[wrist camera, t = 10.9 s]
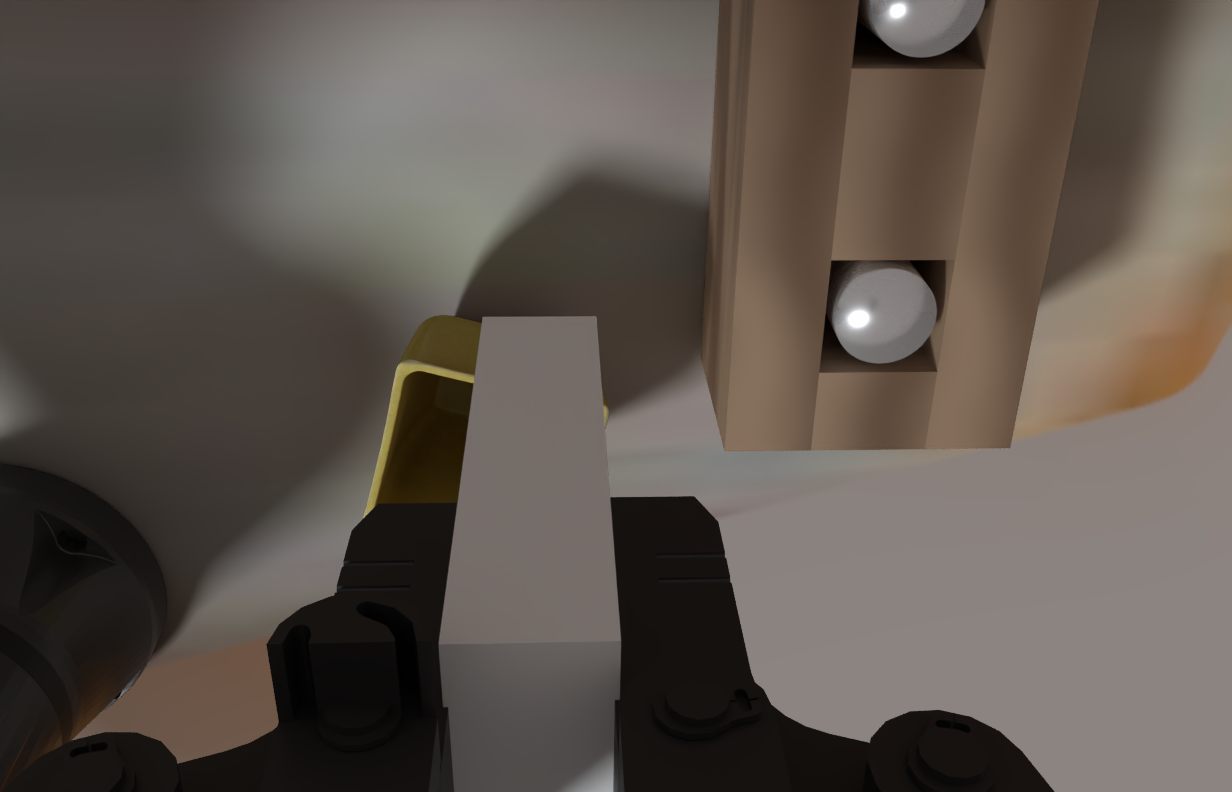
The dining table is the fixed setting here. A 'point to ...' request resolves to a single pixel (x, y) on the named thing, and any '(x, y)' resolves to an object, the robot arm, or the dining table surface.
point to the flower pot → (429, 415)
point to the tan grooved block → (882, 217)
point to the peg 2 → (879, 308)
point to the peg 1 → (920, 23)
